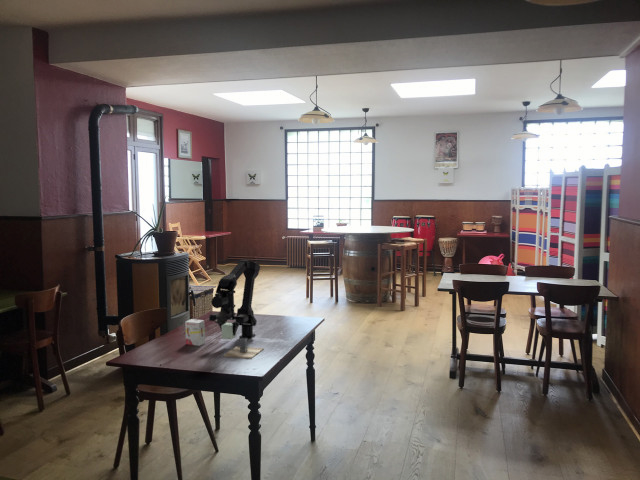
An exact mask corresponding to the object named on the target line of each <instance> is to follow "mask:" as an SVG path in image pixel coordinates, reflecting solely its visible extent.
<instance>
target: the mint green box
mask: <svg viewBox="0 0 640 480" xmlns="http://www.w3.org/2000/svg"><path fill="white" fill-rule="evenodd" d="M232 323H233V322H225V324H223V325H221V328H222V331H221V339H222V340H233V339H235V338H236V337H237V333H236V334H235V336H233V324H232ZM221 328H220V329H221Z"/></svg>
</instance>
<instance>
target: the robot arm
mask: <svg viewBox="0 0 640 480" xmlns="http://www.w3.org/2000/svg"><path fill="white" fill-rule="evenodd" d="M260 269H261V265H260V264H259V262H257V261H255V262H254V261H251V260H248V259H240V260H238V261H237V264H236V265H235V267H233V269H232V270H231V271H230V272H229V273H228V274H226V275H223V276H222V277H221V278H220V279H219V281H218V284H217V287H216V290H215V294H214V296H213V297H212V299H211V306H212V307H213V308H214V309H220V310H219V311H218V312H213V313H212V314H209V316H208V321H209V322H215V324H217V325H218V326H219V328H220V330H221V332H222V328H221V325H223V324H225V323H228V321H229V320H231V321H233V322H231V323H232V324H233V336H235V334H236V335H237V331H238V328H239V327H240V326H241V334H240V335H239V339H240V338H242V337H243V338H247V339H252V338H254V337H255V336H256V334H255V333H254V329H253V328H254V327H256V325H257V319H256V317H255V315H254V314H255V313H254V310H253V308H252V304H253V303H252V302H253V295H254V287H255V280H256V278H257V277H258V276H259V274H260ZM242 275H244V277H245V279H244V287H243V293H242V300H241V306H240V307H239V308H237V311H236V312H237V313H236V312H235V307H236V304H235V299H234V297H235V296H234V294H236V290H235V288H236V286H238V280H239V279H240V278H241V276H242Z"/></svg>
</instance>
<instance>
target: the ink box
mask: <svg viewBox="0 0 640 480" xmlns="http://www.w3.org/2000/svg"><path fill="white" fill-rule="evenodd" d="M184 324H185V327H184V328H185V344H186V345H189V346H190V345H191V346H196V347H197V346H199V347H200V346H202V345H204V344H206V332H205V331H206V328H205V327H206V326H205V320H203V319H196V318H191V319H188V320H186V321H185V323H184Z"/></svg>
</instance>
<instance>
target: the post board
mask: <svg viewBox="0 0 640 480" xmlns="http://www.w3.org/2000/svg"><path fill="white" fill-rule="evenodd" d="M247 348H248V351H247V352H246V353H242V352H240V345H237V346H235V347H234V348H231V350H229V351H228V352H226V353H225V354H223V357H225V358H226V357H227V358H228V357H229V358H236V359H237V358H238V359H247V360H248V359H249V360H251V359H253V358H255V357H256V356H257V355H259V354H260V353H261V352H263V350H264V348H262V347H252V346H247Z"/></svg>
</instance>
